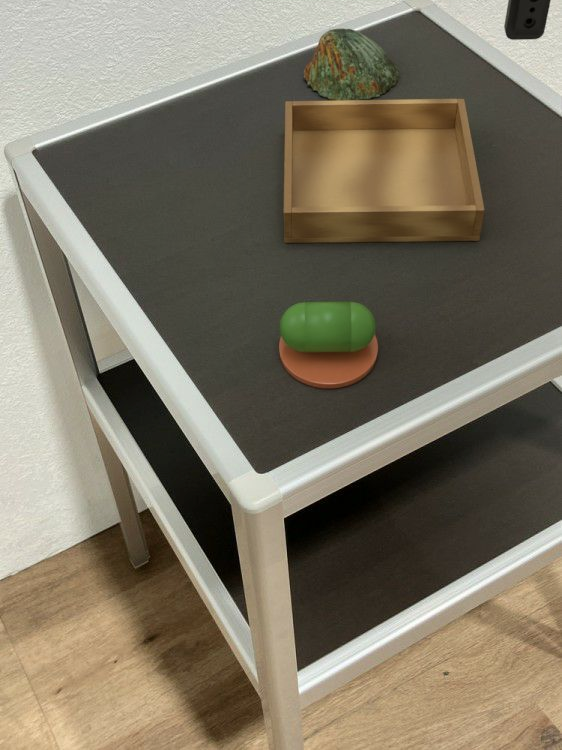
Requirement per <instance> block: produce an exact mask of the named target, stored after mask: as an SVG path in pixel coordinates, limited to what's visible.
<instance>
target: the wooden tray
mask: <svg viewBox="0 0 562 750" xmlns="http://www.w3.org/2000/svg"><path fill="white" fill-rule="evenodd" d="M284 103H285V105H284V153H283V154H284V156H283V158H284V159H283V164H284V165H283V234H284V235H283V237H284V238H283V240H284V243H285V244H305V243H307V244H308V243H310V244H311V243H312V244H313V243H318V244H319V243H393V242H395V243H396V242H397V243H398V242H402V243H403V242H405V243H406V242H407V243H408V242H410V243H411V242H412V243H413V242H479V241H480V239H481V233H482V229H483V228H482V227H483V221H484V216H485V205H484V199H483V194H482V188H481V184H480V183H481V182H480V177H479V172H478V167H477V162H476V157H475V156H476V155H475V150H474V144H473V140H472V135H471V129H470V123H469V118H468V113H467V112H468V111H467V106H466V101H465V99H464V98H421V99H419V98H418V99H417V98H415V99H414V98H412V99H411V98H410V99H364V100H340V101H338V100H293V101H291V100H286V101H285V102H284Z"/></svg>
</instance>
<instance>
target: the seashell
mask: <svg viewBox="0 0 562 750" xmlns="http://www.w3.org/2000/svg"><path fill="white" fill-rule="evenodd" d="M317 43H318V44H317V47H316V49H315V52H314V54H313V56H312V58H311V60H309V62H308V63H307V64H306V66H305V67H304V70H303V79H304V80H305V81H306V82H307V86H309V87H311V88H312V91H316V92H317V93H318V95H319V96H321V97H324V98H327V99H328V101H340V100H372V98H378V97H380V96H381V95H384V94H386V93H387V92H388V91H389V90H391V88H392V87H395V86H396V84H397V82H398V81H399V80H398V79H399V75H400V74H399V69H398V67H397V65H396V63H394V61H393V60H392V59H391V58H390V57H389V55H388V54H387V53H386V51H384V49H383V48H382V47H381V46H380V45H379V44H378V43H377V42H376V41H374V40H373V39H371V38H370V37H368V36H367V35H365V34H364V33H361V32H359V31H357V30H355V29H351V28H334V29H333V28H332V29H329V30H328V31H325V32H324V33H323V34H322V35H321V36H320V38H319V39H318V42H317Z"/></svg>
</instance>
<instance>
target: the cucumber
mask: <svg viewBox="0 0 562 750" xmlns="http://www.w3.org/2000/svg"><path fill="white" fill-rule="evenodd" d="M376 326H377V325H376V320H375V317H374V314H373V313H372V311H371V310H370V309H369V308H368V307H367V306H365V305H363V304H362V303H359V302H356V301H303V302H298V303H295V304H293V305H291V306H289V307H288V308H287V309H286V310H285V311H284V313H283V314H282V316H281V318H280V321H279V333H280V338H281V337H282V339H283V341H284V342H285V343H286V345H287V346H289V347H290V348H291V349H293V350H295V351H298V352H304V353H313V352H356V351H359V350H361V349H363V348H365V347H366V346H367V345H368V344H369V343H370V342H371V341H372V339H373V337H374V334H375V335H376V330H377V329H376V328H377V327H376Z"/></svg>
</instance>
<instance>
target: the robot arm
mask: <svg viewBox="0 0 562 750" xmlns="http://www.w3.org/2000/svg"><path fill="white" fill-rule="evenodd" d="M551 1H552V0H508V2H507V8H506V13H505V19H504V26H503V28H504V32H505V36H506V37H507V39H509V40H512V41H513V40H515V41H516V40H517V41H518V40H519V41H522V40H524V41H525V40H538V39H540V38H541V37H542V36H544V33H545V30H546V25H547V20H548V14H549V11H550V6H551Z"/></svg>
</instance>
